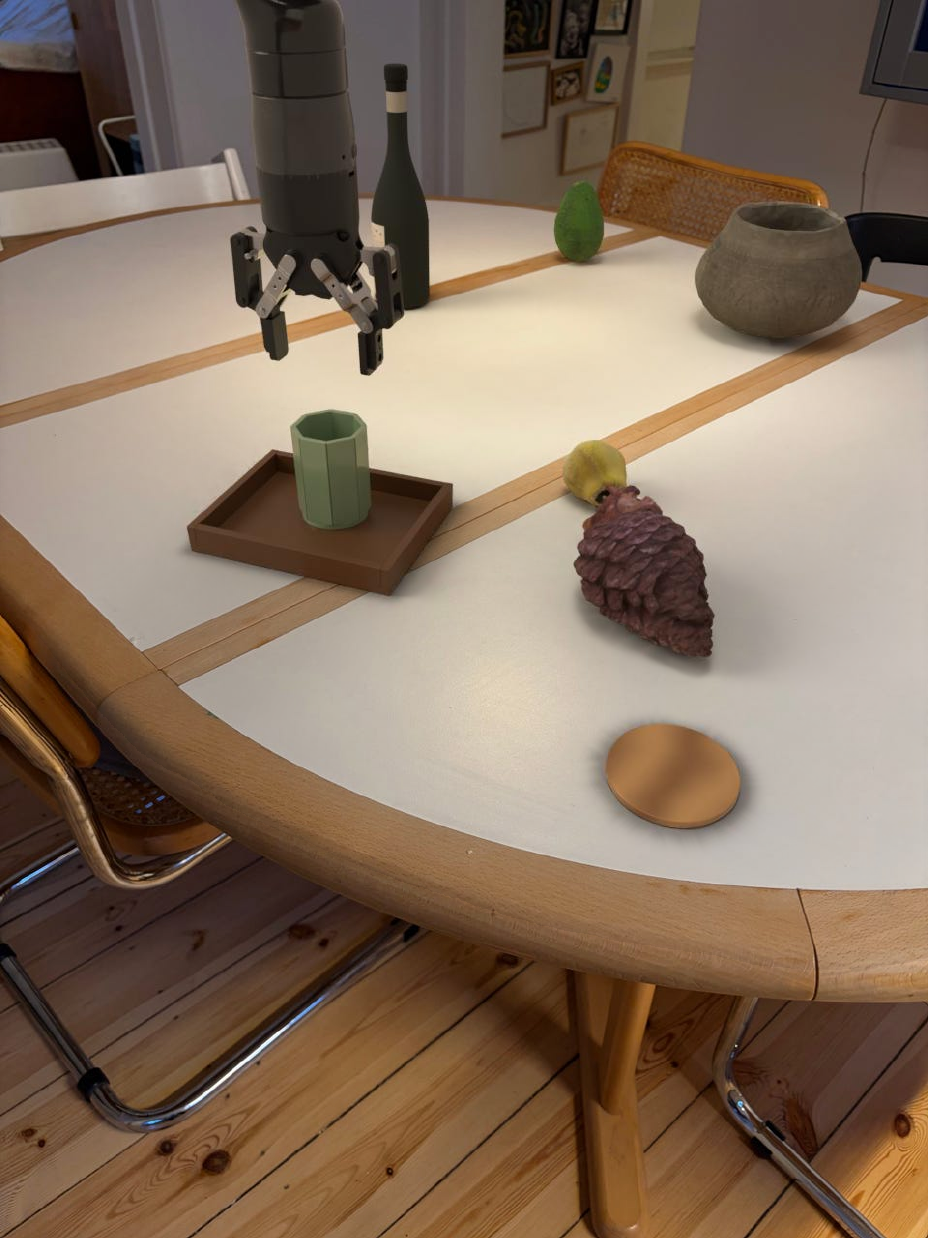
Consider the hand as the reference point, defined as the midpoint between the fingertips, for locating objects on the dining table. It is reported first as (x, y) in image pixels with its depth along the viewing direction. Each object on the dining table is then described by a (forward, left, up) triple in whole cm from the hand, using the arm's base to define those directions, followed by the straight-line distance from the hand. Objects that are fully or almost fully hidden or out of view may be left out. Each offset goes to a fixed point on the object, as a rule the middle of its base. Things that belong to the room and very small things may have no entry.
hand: (324, 364), depth 80 cm
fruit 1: (+2, +85, -16) cm, 86 cm away
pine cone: (+30, -5, -16) cm, 34 cm away
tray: (0, -2, -15) cm, 16 cm away
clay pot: (+34, +66, -16) cm, 76 cm away
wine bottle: (-17, +57, -16) cm, 62 cm away
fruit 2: (+23, +12, -16) cm, 30 cm away
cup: (0, 0, -15) cm, 15 cm away
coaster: (+36, -22, -15) cm, 45 cm away
